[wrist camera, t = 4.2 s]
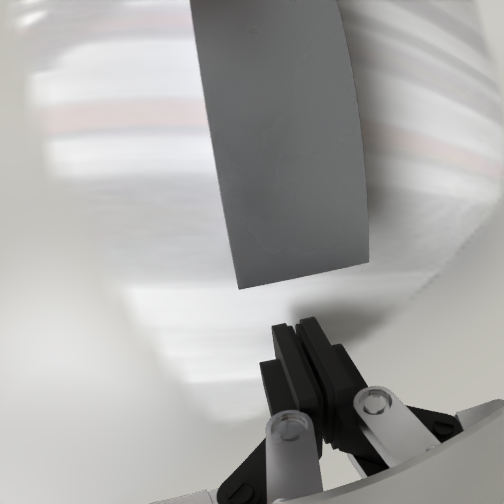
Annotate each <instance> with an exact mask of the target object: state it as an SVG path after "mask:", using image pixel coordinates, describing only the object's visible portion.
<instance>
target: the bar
mask: <svg viewBox="0 0 504 504" xmlns="http://www.w3.org/2000/svg"><path fill="white" fill-rule="evenodd" d="M189 3H190V10H191V17H192V24H193V31H194V38H195V44H196V51H197V57H198V64H199V70H200V77H201V83H202V89H203V96H204V102H205V108H206V114H207V120H208V126H209V132H210V138H211V144H212V150H213V156H214V161H215V167H216V173H217V179H218V184H219V190H220V195H221V201H222V207H223V212H224V218H225V223H226V228H227V234H228V239H229V244H230V249H231V254H232V259H233V264H234V269H235V274H236V279H237V284H238V289H239V290H240V289H245V288H250V287H255V286H260V285H265V284H270V283H275V282H280V281H285V280H290V279H294V278H299V277H304V276H309V275H313V274H318V273H323V272H327V271H332V270H336V269H341V268H345V267H350V266H354V265H359V264H363V263H367V262H369V229H368V204H367V187H366V173H365V162H364V151H363V141H362V132H361V124H360V116H359V109H358V102H357V95H356V89H355V83H354V77H353V71H352V66H351V61H350V55H349V50H348V46H347V41H346V36H345V32H344V27H343V23H342V19H341V15H340V11H339V7H338V3H337V0H189Z"/></svg>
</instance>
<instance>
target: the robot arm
mask: <svg viewBox="0 0 504 504" xmlns="http://www.w3.org/2000/svg"><path fill="white" fill-rule="evenodd" d="M295 328H296V333H295V331H294V329H293V327H292V326H287V325H286V323H283V324H279V325H274V326H272V335H273V342H274V349H275V356H276V359H274V360H270V361H265V362H260V363H259V364H260V369H261V375H262V380H263V385H264V389H265V394H266V398H267V402H268V406H269V410H270V414H271V418H270V419H269V421H268V423H267V425H266V438H265V439H264V440H263V441H262V442H261V443H260V444H259V446H258V447H257V448H256V449H255V450H254V451H253V452H252V453H251V454H250V455H249V457H248V458H247V459H246V460H245V461H244V462H243V463H242V464H241V465H240V466H239V467H238V468H237V469H236V470H235V471H234V472H233V473H232V474H231V475H230V476H229V477H228V478H227V479H226V480H225V481H224V482H223V483H222V485H221V486H220V487H219V488H218V489H215V490H211V491H207V490H203V491H199V492H196V493H192V494H188V495H184V496H180V497H176V498H172V499H167V500H163V501H158V502H153V503H151V504H504V400H501V399H497V400H493V401H490V402H487V403H484V404H482V405H478V406H476V407H473V408H469V409H466V410H463V411H460V412H457V413H456V414H455V416H451V415H448V414H444V413H439V412H434V411H429V410H424V409H420V408H415V407H411V406H406V405H404V404H403V402H402V401H401V400H399V398H398V397H397V396H396V395H395V394H394V393H393V392H392V391H390V390H389V389H387V388H385V387H380V386H371V387H368V386H367V384H366V382H365V381H364V379H363V377H362V376H361V374H360V373H359V371H358V369H357V368H356V366H355V365H354V363H353V361H352V360H351V358H350V357H349V355H348V353H347V352H346V350H345V349H344V347H343V346H342V344H336V345H332V346H331V344H330V343H329V341H328V339H327V337H326V336H325V334H324V332H323V331H322V329H321V327H320V325H319V324H318V322H317V320H316V319H315V317H310V318H306V319H301V320H300V324H296V325H295ZM323 439H324V441H325V443H326V444H328V443H331V445H332V448H333V450H334V449H337V448H339V450H340V451H342V452H345V453H347V456H348V458H349V460H350V461H351V463H352V464H353V466H354V467H355V469H356V470H357V472H358V473H359V475H360V476H361V477H362V479H361V480H358V481H355V482H353V483H350V484H346V485H343V486H340V487H337V488H334V489H331V490H327V491H324V492H323V486H322V479H321V472H320V465H319V459H320V458H321V456H322V442H323Z"/></svg>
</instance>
